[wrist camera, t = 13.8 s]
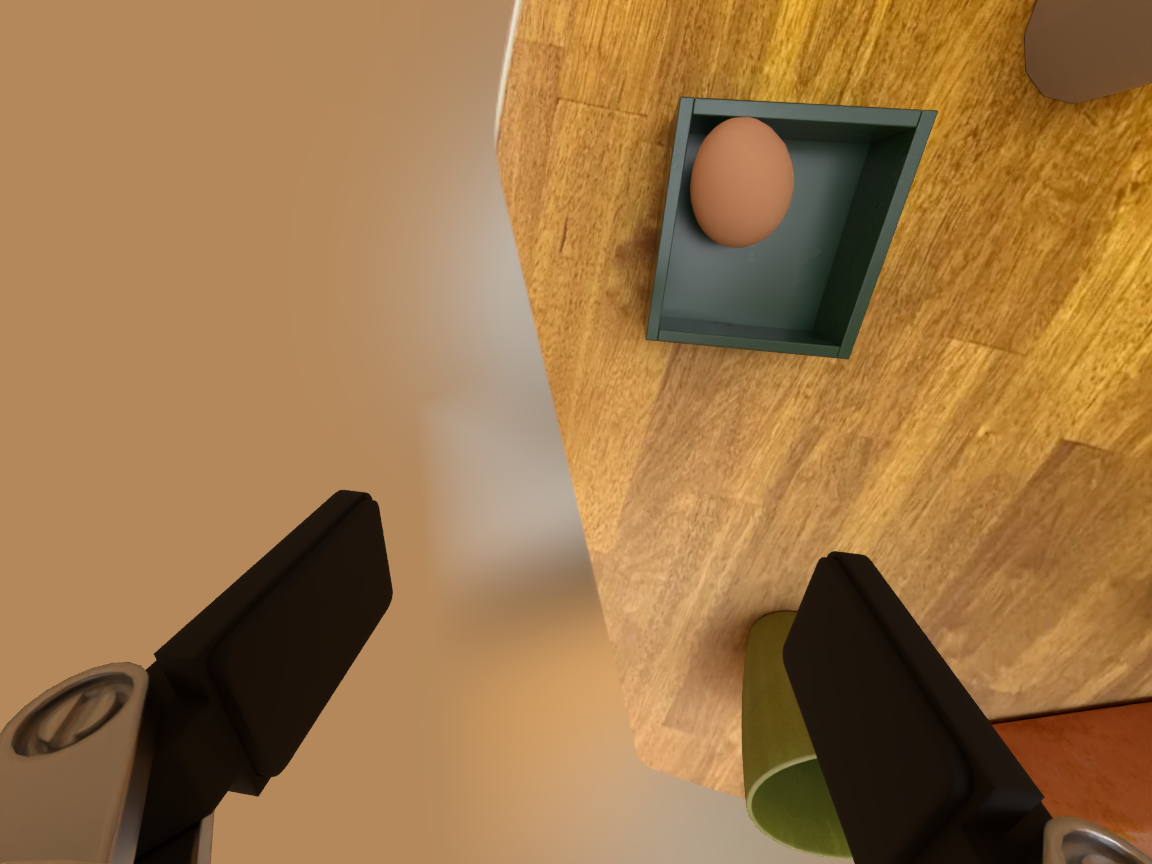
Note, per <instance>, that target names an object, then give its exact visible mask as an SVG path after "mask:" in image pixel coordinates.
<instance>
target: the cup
mask: <svg viewBox="0 0 1152 864" xmlns="http://www.w3.org/2000/svg"><path fill="white" fill-rule="evenodd" d="M1025 60H1026V72H1027V74H1028V75H1029V76H1030V78H1031V79H1032V81H1033V82H1034V84H1035V85H1036V86H1037V88H1038V89H1039V91H1040V92H1041V93H1042V95H1043V96H1046V97H1050V98H1054V99H1057V100H1061V101H1064V102H1068V103H1071V104H1074V103H1079V102H1083V101H1087V100H1091V99H1096V98H1100V97H1104V96H1108V95H1112V94H1116V93H1119V92H1123V91H1126V90H1130V89H1133V88H1137V87H1140V86H1144V85H1147V84H1151V83H1152V0H1037V2H1036V5H1035V8H1034V11H1033V13H1032V16H1031V19H1030V21H1029V24H1028V27H1027V30H1026V32H1025Z"/></svg>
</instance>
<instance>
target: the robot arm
mask: <svg viewBox="0 0 1152 864" xmlns="http://www.w3.org/2000/svg"><path fill="white" fill-rule="evenodd" d="M392 594H393V590H392V583H391V577H390V572H389V565H388V560H387V553H386V547H385V542H384V536H383V529H382V523H381V517H380V511H379V506H378V503H377V502H376V501H374V500H372V497H371V496H370V494H368V493H365V492H357V491H349V490H339V491H338V492H336V493H335V494H334V495H332V496H331V497H330V498H329V499H328V500H327V501H326V502H325V503H323V504H322V505H321V506H320V507H319V508H318V509H317V510H316V511H314V512H313V513H312V514H311V515H310V516H309V517H308V518H306V519H305V520H304V521H303V522H302V523H301V524H300V525H299V526H297V527H296V528H295V529H294V530H293V531H292V532H291V533H290V534H288V535H287V536H286V537H285V538H284V539H283V540H282V541H281V542H279V544H277V545H276V546H275V547H274V548H273V549H272V550H270V551H269V552H268V553H267V554H266V555H265V556H264V557H263V558H261V559H260V560H259V561H258V562H257V563H256V564H255V565H253V567H251V568H250V569H249V570H248V571H247V572H246V573H244V574H243V575H242V576H241V577H240V578H239V579H238V580H237V581H236V582H234V583H233V584H232V585H231V586H230V587H229V588H228V589H227V590H225V591H224V592H223V593H222V594H221V595H220V596H219V597H217V598H216V599H215V600H214V601H213V602H212V603H211V604H210V605H209V606H207V607H206V608H205V609H204V610H203V611H202V612H201V613H199V614H198V615H197V616H196V617H195V618H194V619H193V620H191V621H190V622H189V623H188V624H187V625H186V626H185V627H184V628H182V629H181V630H180V631H179V632H178V633H177V634H176V635H175V636H173V637H172V638H171V639H170V640H169V641H168V642H167V643H166V644H164V645H163V646H162V647H161V648H160V649H159V650H158V651H157V652H156V653H154V655H155V657H156V659H157V660H156V661H155V662H154V663H153V664H152V665H151V666H150V667H149V668H148V669H146V670H144V668H142V666H141V665H137V664H133V663H130V662H124V663H110V664H107V665H103V666H99V667H95V668H91V669H89V670H86V671H84V672H82V673H79V674H77V675H75V676H72V677H70V678H68V679H66V680H64V681H62V682H61V683H59V684H57V685H55V686H53V687H52V688H50V689H48V690H46V691H45V692H44V693H42V694H41V695H39V696H38V697H37V698H36V699H34V700H33V701H31V702H30V703H29V704H27V705H26V706H25V707H24V708H23V709H21V710H20V711H19V712H18V713H17V714H16V715H15V716H14V717H13V718H12V719H11V720H10V721H9V722H8V723H7V724H6V726H5V727H4V729H3V730H2V732H1V733H0V864H211V850H212V837H213V822H214V810H215V808H216V807H217V805H218V804H219V802H220V801H221V800H222V798H223V797H224V796H225V794H226V793H227V792H228V791H231V792H237V793H242V794H248V795H253V796H259V795H260V793H261V792H262V790H263V789H264V787H265V785H266V784H267V783H268V781H269V779H270V778H271V777H275V776H277V775H279V774H280V773H281V772H282V771H283V770H284V769H285V767H286V766H287V765H288V763H289V762H290V760H291V759H292V757H293V755H294V754H295V752H296V751H297V749H298V748H299V746H300V744H301V743H302V741H303V740H304V738H305V737H306V735H307V734H308V732H309V731H310V729H311V727H312V726H313V724H314V723H315V721H316V720H317V718H318V716H319V715H320V713H321V712H322V710H323V709H324V707H325V706H326V704H327V702H328V701H329V699H330V698H331V696H332V694H333V693H334V691H335V690H336V688H337V687H338V685H339V684H340V682H341V680H342V679H343V678H344V676H345V674H346V673H347V671H348V670H349V668H350V667H351V665H352V663H353V662H354V660H355V659H356V657H357V656H358V654H359V653H360V651H361V649H362V648H363V646H364V645H365V643H366V642H367V640H368V639H369V637H370V635H371V634H372V632H373V631H374V629H375V628H376V626H377V625H378V623H379V621H380V620H381V618H382V617H383V615H384V614H385V612H386V610H387V609H388V607H389V605H390V602H391V600H392ZM782 654H783V663H784V667H785V669H786V672H787V675H788V678H789V681H790V683H791V686H792V689H793V692H794V695H795V697H796V700H797V703H798V706H799V709H800V711H801V714H802V717H803V720H804V723H805V725H806V728H807V731H808V734H809V737H810V739H811V742H812V745H813V748H814V751H815V753H816V756H817V759H818V762H819V765H820V767H821V770H822V773H823V776H824V779H825V782H826V784H827V787H828V790H829V793H830V796H831V798H832V801H833V804H834V807H835V810H836V812H837V815H838V818H839V821H840V824H841V826H842V829H843V832H844V835H845V838H846V840H847V843H848V846H849V849H850V852H851V854H852V857H853V860H854V863H855V864H1152V858H1150V857H1149V856H1147V855H1146V854H1145V853H1143V852H1142V851H1140V850H1139V849H1138V848H1136V847H1135V846H1134V845H1132V844H1131V843H1129V842H1128V841H1127V840H1125V839H1124V838H1122V837H1120V836H1118V835H1116V834H1115V833H1113V832H1111V831H1109V830H1107V829H1106V828H1104V827H1102V826H1100V825H1098V824H1095V823H1093V822H1090V821H1087V820H1084V819H1081V818H1079V817H1073V816H1057V817H1055V818H1053V817H1052V816H1051V814H1050V813H1049V812H1048V810H1047V809H1046V807H1045V806H1044V805H1043V803H1042V802H1041V801H1042V800H1043V799H1044V798H1045V797H1044V795H1043V794H1042V793H1041V791H1040V790H1039V788H1038V787H1037V786H1036V784H1035V783H1034V782H1033V780H1032V779H1031V778H1030V776H1029V775H1028V774H1027V772H1026V771H1025V769H1024V768H1023V767H1022V765H1021V764H1020V763H1019V761H1018V760H1017V759H1016V757H1015V756H1014V754H1013V753H1012V752H1011V750H1010V749H1009V748H1008V746H1007V745H1006V744H1005V742H1004V741H1003V740H1002V738H1001V737H1000V735H999V734H998V733H997V731H996V730H995V729H994V727H993V726H992V725H991V723H990V722H989V721H988V719H987V718H986V716H985V715H984V714H983V712H982V711H981V710H980V708H979V707H978V706H977V704H976V703H975V701H974V700H973V699H972V697H971V696H970V695H969V693H968V692H967V691H966V689H965V688H964V687H963V685H962V684H961V682H960V681H959V680H958V678H957V677H956V676H955V674H954V673H953V672H952V670H951V669H950V667H949V666H948V665H947V663H946V662H945V661H944V659H943V658H942V657H941V655H940V654H939V653H938V651H937V650H936V648H935V647H934V646H933V644H932V643H931V642H930V640H929V639H928V638H927V636H926V635H925V633H924V632H923V631H922V629H921V628H920V627H919V625H918V624H917V623H916V621H915V620H914V619H913V617H912V616H911V614H910V613H909V612H908V610H907V609H906V608H905V606H904V605H903V604H902V602H901V601H900V599H899V598H898V597H897V595H896V594H895V593H894V591H893V590H892V589H891V587H890V586H889V585H888V583H887V582H886V580H885V579H884V578H883V576H882V575H881V574H880V572H879V571H878V570H877V568H876V567H875V565H874V564H873V563H872V561H871V560H870V559H869V558H868V557H867V556H865V555H861V554H853V553H845V552H837V551H834V552H831V553H830V554H828V556H827V558H826V557H823V558H821V559H819V561H818V563H817V566H816V568H815V570H814V573H813V575H812V578H811V580H810V583H809V585H808V587H807V590H806V592H805V595H804V597H803V600H802V602H801V605H800V607H799V609H798V612H797V614H796V617H795V619H794V622H793V624H792V626H791V629H790V631H789V634H788V636H787V639H786V641H785V643H784V646H783V653H782Z"/></svg>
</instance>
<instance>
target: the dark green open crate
mask: <svg viewBox="0 0 1152 864" xmlns="http://www.w3.org/2000/svg"><path fill="white" fill-rule="evenodd" d="M937 113H938V111H937V110H917V109H898V108H880V107H862V106H843V105H825V104H806V103H788V102H770V101H751V100H733V99H714V98H695V99H694V97H680V99H679V102H678V105H677V107H676V110H675V113H674V115H673V118H672V121H671V127H670V134H669V141H668V148H667V156H666V163H665V170H664V177H663V185H662V192H661V199H660V206H659V214H658V221H657V228H656V235H655V243H654V250H653V257H652V264H651V272H650V279H649V286H648V293H647V301H646V308H645V315H644V322H643V325H644V331H645V338H646V340H653V341H664V342H674V343H685V344H695V345H705V346H716V347H726V348H736V349H747V350H757V351H768V352H778V353H788V354H799V355H809V356H819V357H830V358H840V359H849V358H850V355H851V352H852V349H853V346H854V344H855V341H856V338H857V335H858V332H859V330H860V327H861V324H862V321H863V319H864V316H865V313H866V310H867V307H868V305H869V302H870V299H871V296H872V294H873V291H874V288H875V285H876V282H877V280H878V277H879V274H880V271H881V268H882V266H883V263H884V260H885V257H886V255H887V252H888V249H889V246H890V243H891V241H892V238H893V235H894V232H895V230H896V227H897V224H898V221H899V218H900V216H901V213H902V210H903V207H904V204H905V202H906V199H907V196H908V193H909V191H910V188H911V185H912V182H913V179H914V177H915V174H916V171H917V168H918V166H919V163H920V160H921V157H922V154H923V152H924V149H925V146H926V143H927V140H928V138H929V135H930V132H931V129H932V127H933V124H934V121H935V118H936V115H937ZM738 117H751V118H755V119H758V120H759V121H761V122H763V123H764V124H766V125H768V126H770V127H771V129H772V130H773V131H774V132H775V133H776V134H777V135H778V136H779V137H780V138H781V140H782V141H783V142H784V143H785V145H786V148H787V150H788V153H789V155H790V158H791V161H792V166H793V172H794V190H793V194H792V198H791V203H790V206H789V209H788V211H787V213H786V215H785V217H784V219H783V220H782V222H781V223H780V224H779V226H778V227H777V228H776V229H775V230H774V231H773V232H772V233H771V234H770V235H769V236H768V237H767V238H765V239H763V240H762V241H760V242H758V243H757V244H754V245H750V246H747V247H744V248H731V247H727V246H724V245H720V244H718V243H717V242H715V241H713V240H712V239H710V238H709V237H708V236H707V235H706V234H705V233H704V232H703V230H702V229H701V227H700V225H699V224H698V222H697V219H696V217H695V214H694V212H693V208H692V203H691V195H690V181H691V175H692V169H693V165H694V161H695V158H696V156H697V153H698V150H699V148H700V146H701V144H702V143H703V141H704V140H705V138H706V137H707V136H708V135H709V134H710V133H711V131H712V130H713V129H714V128H715V127H716V126H718V125H719V124H721V123H722V122H724V121H727V120H729V119H731V118H738Z"/></svg>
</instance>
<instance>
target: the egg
mask: <svg viewBox="0 0 1152 864" xmlns="http://www.w3.org/2000/svg"><path fill="white" fill-rule="evenodd" d="M793 190H794V172H793V166H792V161H791V158H790V155H789V153H788V150H787V148H786V145H785V143H784V142H783V141H782V140H781V138H780V137H779V136H778V135H777V134H776V133H775V132H774V131H773V130H772V129H771V127H770V126H768V125H766V124H764V123H763V122H761V121H759V120H758V119H755V118H751V117H738V118H731V119H729V120H727V121H724V122H722V123H721V124H719V125H718V126H716V127H715V128H714V129H713V130H712V131H711V133H710V134H709V135H708V136H707V137H706V138H705V140H704V141H703V143H702V144H701V146H700V148H699V150H698V153H697V156H696V158H695V161H694V165H693V169H692V175H691V181H690V195H691V203H692V208H693V212H694V214H695V217H696V219H697V222H698V224H699V225H700V227H701V229H702V230H703V232H704V233H705V234H706V235H707V236H708V237H709V238H710V239H712V240H713V241H715V242H717V243H718V244H720V245H724V246H727V247H731V248H744V247H747V246H750V245H754V244H757V243H758V242H760V241H762V240H763V239H765V238H767V237H768V236H769V235H770V234H771V233H772V232H773V231H774V230H775V229H776V228H777V227H778V226H779V224H780V223H781V222H782V220H783V219H784V217H785V215H786V213H787V211H788V209H789V206H790V203H791V198H792V194H793Z"/></svg>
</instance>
